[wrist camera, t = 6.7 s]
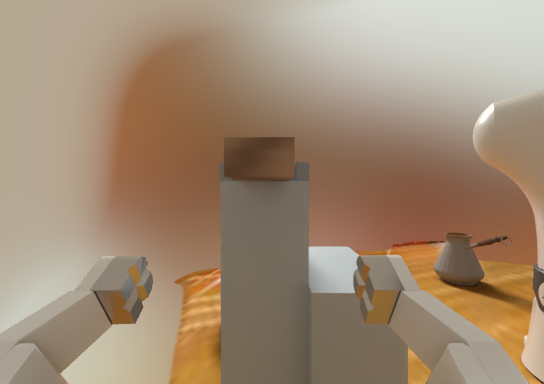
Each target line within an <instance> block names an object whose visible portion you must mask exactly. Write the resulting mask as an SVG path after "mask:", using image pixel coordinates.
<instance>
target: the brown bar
mask: <svg viewBox="0 0 544 384" xmlns="http://www.w3.org/2000/svg"><path fill="white" fill-rule="evenodd" d="M224 177H227V178H231V179H235V180H239V181H289V180H290V179H292V178H293V177H294V137H271V138H270V137H268V138H266V137H264V138H263V137H261V138H260V137H259V138H224Z"/></svg>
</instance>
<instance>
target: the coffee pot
mask: <svg viewBox="0 0 544 384" xmlns="http://www.w3.org/2000/svg"><path fill="white" fill-rule="evenodd" d="M445 236H446V238H447V242H446V244H445V246H444V248H443V250H442V252H441V254H440V256H439V257H438V259H437V261H436V263H435V265H434V270H435V272H436V273H437V274H438V275H439V276H440V277H441V278H442V279H443V280H444V281H446V282H449V283H453V284H458V285H474V284H475V283H477V282H479V281H480V280H482V279H483V277H484V272H483V270H482V268H481V266H480V264H479V261H478V259H477V258H476V255H475V253H474V252H473V249H472V248H474V247H477V246H484V245H490V244H493V243H495V242H502V240H505V239H507V236H502V237H496V238H494V239H487V240H484V241H481V242H479V243H477V244H472V245H470V243H469V242H470V239H471V238H472V235H469V234H463V233H445ZM508 239H510V238H508ZM510 241H511V244H512V240H510ZM502 244H504V243H503V242H502ZM511 244H510V245H511ZM504 245H506V244H504Z"/></svg>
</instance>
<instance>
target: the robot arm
mask: <svg viewBox="0 0 544 384" xmlns="http://www.w3.org/2000/svg"><path fill="white" fill-rule="evenodd" d="M473 143H474V147H475V149H476V151H477V153H478V155H479V156H480V157H481V158H482V159H483V160H484V161H485V162H486V163H487V164H489V165H490V166H493V167H494V168H496V169H498V170H500V171H501V172H503V173H504V174H506V175H507V176H509V177H510V178H511V179H512V180H513V181H514V182H515V183H516V184H517V185H518V186H519V187H520V188H521V189H522V191H523V192H524V193H525V195H526V197H527V198H528V200H529V202H530V204H531V206H532V209H533V212H534V217H535V223H536V232H537V246H538V264H536V265H534V271H533V276H532V278H533V289H534V292H535V295H536V297H535V298H534V301H533V306H532V312H531V318H530V325H529V332H528V335H526V336H525V337H524V345H525V347H524V350H523V353H522V355H521V360H522V362H523V364H524V365H525V367H526V368H527V369H528V370H529V371H530V372H531V373H532V374H533V375H534V376H536V377H537V378H538V379H540V380H541V381H542V382H544V89H542V90H536V91H531V92H527V93H524V94H521V95H517V96H513V97H510V98H507V99H504V100H501V101H498V102H495V103H492V104H491V105H490V106H488V107H487V108H486V109H485V110H484V111H483V113H482V114H481V115H480V117H479V118H478V120H477V122H476V124H475V127H474V131H473ZM356 264H357V267H358V269H356V270H355V271H354V276H353V286H354V291H355V294H356V297H357V298H359V299H360V300H361V303H360V310H361V313H362V316H363V319H364V322H365V324H389V326H390V327H391V329H392V330H393V331H394V332H395V333H396V334H397V335H398V336H399V337H400V338H401V339H402V340H403V341H404V342H405V343H406V345H407V346H408V347H409V348H410V349H411V350H412V351H413V352H414V353H415V354H416V355H417V356H418V357H419V358H420V359H421V361H422V362H423V363H424V364H425V365H426V366H427V367H428V368H429V369H430V370H431V371H432V373H431V375H430V376H429V378H428V380H427V381H426V383H425V384H529V383H528V381H527V380H526V378H525V377H524V376H523V374H522V373H521V372H520V370H519V369H518V368H517V366H516V365H515V364H514V362H513V361H512V359H511V358H510V357H509V355H508V354H507V353H506V351H505V350H504V349H503V347H502V346H501V344H500V343H499V342H498V341H496V340H495V339H493V338H492V337H491V336H489V335H488V334H486V333H485V332H484V331H482V330H481V329H479V328H478V327H476V326H475V325H474V324H472V323H471V322H469V321H468V320H467V319H465V318H464V317H462V316H461V315H459V314H458V313H457V312H455V311H454V310H452V309H451V308H449V307H448V306H447V305H445V304H444V303H442V302H441V301H440V300H438V299H437V298H435V297H434V296H432V295H431V294H430V293H428V292H427V291H421V289H420V287H419V286H418V284H417V282H416V281H415V279H414V277H413V276H412V274H411V272H410V271H409V269H408V267H407V265H406V264H405V262H404V260H403V259H402V257H401V256H399V255H385V256H384V255H373V256H358V258H357V261H356ZM147 265H148V263H147V260H146V258H145V257H140V256H103V257H101V258H100V259H99V260H98V261H97V263H96V264H95V265H94V266H93V268H92V269H91V270H90V271H89V273H88V274H87V275H86V277H85V278H84V279H83V280H82V282H81V283H80V284H79V285H78V287H77V288H76V290H75V291H69V292H68V293H66V294H64V295H63V296H61V297H59V298H58V299H56V300H55V301H53V302H52V303H50V304H48V305H46V306H45V307H43V308H41V309H40V310H38V311H37V312H35V313H34V314H32V315H30V316H28V317H27V318H25V319H24V320H22V321H20V322H19V323H17V324H15V325H14V326H12V327H10V328H9V329H7V330H6V331H4V332H3V333H1V334H0V384H68V383H67V382H66V380H65V379H64V378H63V377H62V376H61V374H60V373H61V372H62V371H63V370H65V369H66V368H67V367H68V366H69V365H70V364H71V363H72V362H73V361H74V360H75V359H76V358H78V356H80V355H81V354H82V353H83V352H84V351H85V350H86V349H87V348H88V347H89V346H90V345H92V343H94V342H95V341H96V340H97V339H98V338H99V337H100V336H101V335H102V334H103V333H104V332H106V331H107V330H108V329H109V328H110V327H111V326H112V325H111V324H135V323H136V321H137V319H138V317H139V315H140V313H141V311H142V309H143V305H142V301H144V300H145V299H146V298H147V297H148V296H149V294H150V292H151V289H152V284H153V279H152V274H151V272H150V271H149V270H148V269H146V266H147Z"/></svg>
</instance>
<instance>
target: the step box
mask: <svg viewBox="0 0 544 384" xmlns="http://www.w3.org/2000/svg"><path fill="white" fill-rule="evenodd" d="M220 181H221V384H408V346H407V345H406V343H405V342H404V341H403V340H402V339H401V338H400V337H399V336H398V335H397V334H396V333H395V332H394V331H393V330H392V329H391V327H390V326H389V324H365V322H364V319H363V316H362V313H361V310H360V303H361V300H360V299H359V298H357V297H356V294H355V291H354V286H353V276H354V271H355V270H356V269H358V267H357V264H356V261H357V258H358V256H359V255H358V254H357V253H355V252H354V251H353V250H352V249H350V248H349V247H309V163H308V162H305V163H304V162H297V163H296V164H295V165H294V177H293V178H292V179H290V180H289V181H239V180H235V179H231V178H227V177H224V163H220Z"/></svg>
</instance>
